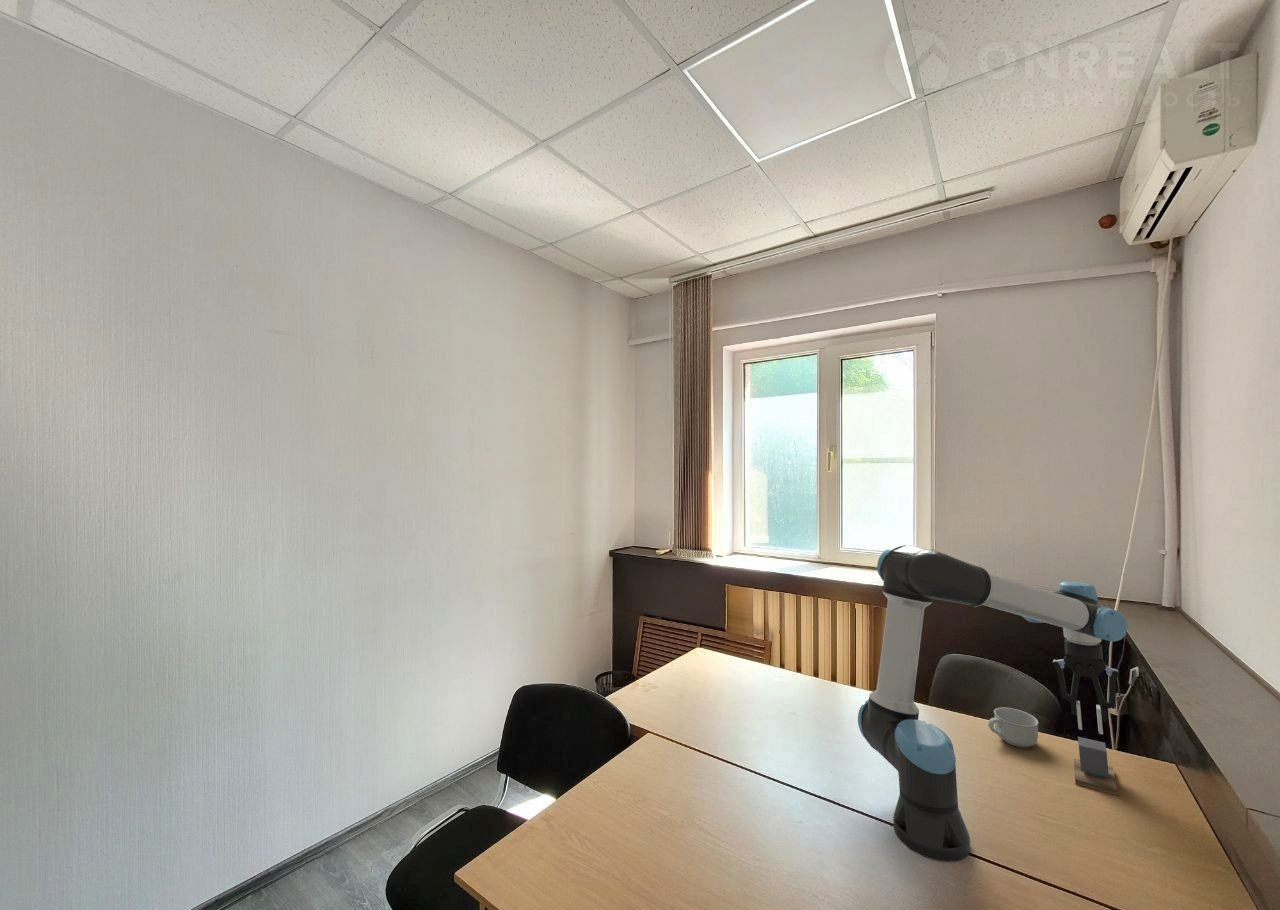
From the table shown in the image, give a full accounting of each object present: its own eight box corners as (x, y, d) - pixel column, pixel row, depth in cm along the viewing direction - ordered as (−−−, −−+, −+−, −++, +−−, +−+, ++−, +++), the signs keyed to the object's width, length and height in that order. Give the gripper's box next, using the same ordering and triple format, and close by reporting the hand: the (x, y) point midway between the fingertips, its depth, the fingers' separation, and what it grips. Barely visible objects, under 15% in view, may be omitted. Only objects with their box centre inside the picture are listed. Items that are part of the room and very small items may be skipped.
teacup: (1024, 733, 153) (1022, 707, 153) (1049, 752, 142) (1047, 724, 142) (977, 732, 154) (975, 707, 155) (998, 751, 143) (996, 724, 144)
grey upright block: (1109, 778, 126) (1106, 751, 126) (1080, 770, 129) (1078, 745, 130) (1107, 768, 130) (1104, 742, 130) (1080, 761, 134) (1077, 736, 134)
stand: (1117, 795, 122) (1114, 761, 123) (1075, 783, 128) (1072, 751, 128) (1113, 772, 132) (1110, 741, 132) (1073, 762, 137) (1071, 732, 137)
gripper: (1123, 642, 129) (1131, 733, 128) (1043, 631, 140) (1050, 715, 138) (1126, 650, 123) (1135, 745, 122) (1042, 639, 134) (1050, 726, 133)
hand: (1090, 729), depth 130 cm, fingers open, 3 cm apart
